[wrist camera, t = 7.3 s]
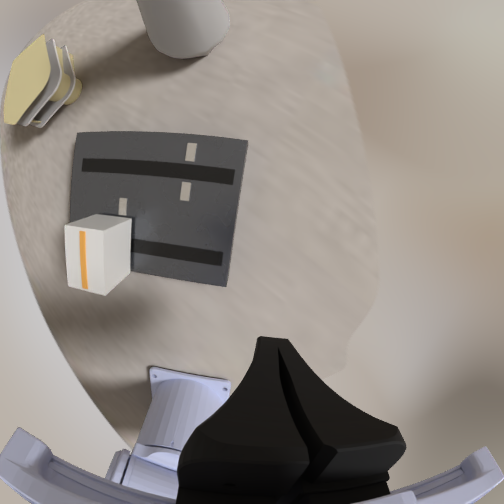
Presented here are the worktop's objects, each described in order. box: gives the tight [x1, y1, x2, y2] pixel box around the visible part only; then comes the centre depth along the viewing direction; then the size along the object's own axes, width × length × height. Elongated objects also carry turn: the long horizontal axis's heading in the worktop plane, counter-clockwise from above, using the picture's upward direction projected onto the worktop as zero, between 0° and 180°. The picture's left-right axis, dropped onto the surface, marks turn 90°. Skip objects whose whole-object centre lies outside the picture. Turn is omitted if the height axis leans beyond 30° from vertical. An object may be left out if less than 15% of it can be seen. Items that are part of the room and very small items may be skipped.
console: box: [70, 131, 248, 287], centre depth 18 cm, size 10×13×2 cm
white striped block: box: [65, 214, 132, 296], centre depth 16 cm, size 4×3×4 cm
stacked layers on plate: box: [4, 34, 82, 128], centre depth 14 cm, size 10×9×6 cm
